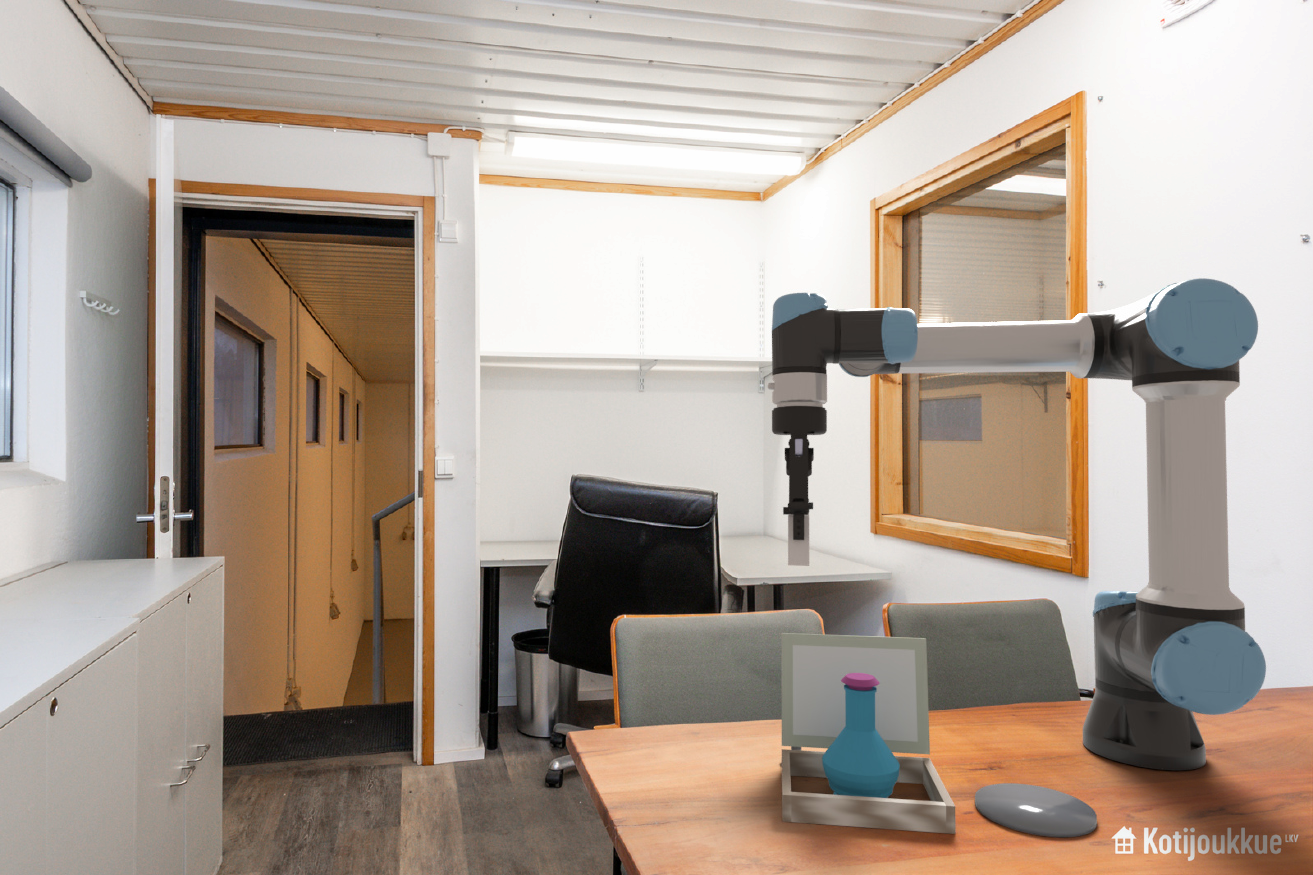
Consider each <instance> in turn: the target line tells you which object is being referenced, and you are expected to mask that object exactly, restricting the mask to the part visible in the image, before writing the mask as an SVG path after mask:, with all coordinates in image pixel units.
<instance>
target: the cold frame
mask: <svg viewBox="0 0 1313 875" xmlns="http://www.w3.org/2000/svg"><path fill="white" fill-rule="evenodd" d="M825 752H826V751H817V750H816V751H815V750H804V749H803V750H802V749H801V750H791V749H785V748H784V749H782V748H781V807H782V808H781V810H782V811H781V812H782V813H781V815H782V822H786V823H787V822H788V823H798V824H800V823H801V824H802V823H803V824H816V825H828V826H839V827H840V826H841V827H856V828H869V829H881V830H882V829H884V830H894V831H895V830H896V831H897V830H898V831H908V832H909V831H910V832H925V833H938V834H939V833H940V834H952V835H956V834H957V833H956V828H957V827H956V826H957V825H956V819H957V818H956V804H955V803H954V801H953V799H952V798H951V796H950V794H949V792H948V790H947V788H946V787H945V784H944V783H943V781H942V778H941V777H940V775H939V774H938V771H937V769H936V767H935V765H934V764H933V762H932V759H931V758H930V757H923V756H922V757H920V756H902V755H900V756H899V755H894V756H895V758H896V759H897V761H898V762H899V764H900V768H899V776H898V779H897V782H896V783H902V784H919V785H923V787H924V789H925V791H926V793H927V795H928V797H929V799H930V800H916V799H904V798H903V799H901V798H889V797H887V798H876V797H861V796H846V795H833V794H827V793H826V794H825V793H814V792H813V793H812V792H799V791H792V782H791V780H792V779H791V778H792V777H791V776H794V777H808V778H809V777H810V778H811V777H812V778H826V779H827V777H826V775H825V771H824V768H823V762H822V757H823V755H824V753H825Z"/></svg>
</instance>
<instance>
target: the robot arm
mask: <svg viewBox="0 0 1313 875" xmlns="http://www.w3.org/2000/svg"><path fill="white" fill-rule="evenodd" d="M771 322H772V323H771V359H772V360H771V366H772V367H771V368H772V369H771V371H772V372H771V373H772V374H771V376H772V378H771V379H772V381H773V382H769V383H768V385H767V389H768V390H772V398H771V399H772V401H771V402H772V403H773V404H774V405H776V407H774V408H772V409H773V410H771V431H772V433H773V434H774V435H777V436H790V438H789V440H788V447H784V461H785V462H786V463H785V472H786V476H788V480H789V481H788V493H789V494H788V503H787V506H782V508H783V509H782V512H783V514H782V515H787V565H788V566H796V567H797V566H800V567H803V566H804V567H808V566H810V510H814V502H813V501H812V502H811V501H810V499H809V477H810V476H812V475H813V474H812V473H813V462H814V458H815V457H814V453H815V452H814V451H815V449H814V447H810V441H809V438H808V436H821V435H824V434H826V433H827V429H828V427H827V426H828V425H827V424H828V418H827V416H828V411H827V409H826V408H825V407H824V406H823V405H825V404H827V402H828V374H827V365H828V364H835V365H836V364H838V366H839V367H840V368H841V369H842V371H844V372H845V373H846V374H848V375H850V376H852V377H854V378H855V377H856V378H866V377H870V376H873V375H894V374H958V373H959V374H960V373H961V374H965V373H966V374H971V373H973V374H974V373H975V374H977V373H978V374H979V373H1054V372H1055V373H1058V372H1059V373H1060V372H1061V373H1063V372H1065V373H1066V372H1068V373H1070V374H1072V376H1074V378H1076V379H1100V380H1101V379H1104V380H1105V379H1106V380H1121V381H1131V388H1132V391H1133V392H1134V394H1136V395H1138V396H1139V398H1141V399H1142V400H1143V401H1144V403H1145V428H1146V429H1145V431H1146V432H1145V435H1146V437H1145V438H1146V439H1145V440H1146V482H1147V485H1146V486H1147V487H1146V488H1147V489H1146V490H1147V492H1146V493H1147V537H1148V538H1147V546H1148V547H1147V548H1148V550H1147V551H1148V552H1147V553H1148V583H1147V585H1145V587H1143V588H1142V589H1141V590H1140V591H1126V590H1125V591H1124V590H1102V591H1099V592H1098V593H1097V594H1096V595H1095V597H1094V600H1093V602H1094V606H1093V611H1092V617H1093V640H1094V646H1093V647H1094V676H1095V677H1094V678H1095V679H1094V680H1095V684H1094V695H1093V698H1092V700H1091V703H1090V706H1089V708H1088V712H1087V714H1086V716H1085V720H1084V723H1083V724H1082V744H1083V746H1084V747H1085V748H1087V749H1088V750H1089V751H1091V752H1092V753H1094V754H1096V755H1099V756H1100V757H1102V758H1103V757H1104V758H1106V759H1109V760H1111V761H1115V762H1119V763H1122V764H1126V765H1130V766H1135V767H1141V768H1145V769H1153V770H1155V769H1156V770H1161V771H1162V770H1163V771H1165V770H1166V771H1189V770H1190V771H1191V770H1196V769H1199V768H1202V767H1204V766H1205V765H1206V763H1207V762H1206V761H1207V757H1206V756H1207V754H1206V745H1205V741H1204V739H1203V736H1202V733H1201V730H1200V728H1199V726H1198V723H1197V720H1196V718H1195V715H1194V713H1197V714H1201V715H1206V716H1209V715H1210V716H1216V715H1217V716H1219V715H1225V714H1230V713H1232V712H1234V711H1235V712H1236V711H1238V710H1240V709H1241V708H1243V707H1244V706H1245V705H1247V704H1248V703H1249V702H1250V701H1252V700H1254V699H1255V697H1256V696H1257V695H1258V693H1259V692H1260V691H1261V689H1262V687H1263V685H1264V682H1265V678H1266V672H1267V665H1266V658H1265V655H1264V652H1263V650H1262V648H1261V647H1260V645H1259V643H1257V641H1255V639H1254V637H1252V636H1251V635H1250V634H1249V633H1248V632H1247V631H1246V615H1245V614H1246V610H1245V609H1246V608H1245V603H1244V602H1243V601H1242V600H1241V599H1240V598H1239V597H1238V596H1237V595H1235V594H1234V593H1233V592H1232V591H1231V589H1230V578H1229V576H1230V575H1229V571H1230V570H1229V568H1230V566H1229V528H1228V527H1229V526H1228V525H1229V524H1228V520H1229V519H1228V486H1227V485H1228V480H1227V472H1228V471H1227V438H1226V437H1227V430H1226V427H1227V425H1226V400H1227V398H1228V397H1229V396H1230V395H1231V394H1232V393H1233V392H1234V391H1236V390H1237V389H1238V388H1239V387H1240V385H1241V382H1240V380H1241V379H1240V374H1241V373H1240V371H1241V370H1240V360H1241V359H1243V357H1245V356H1247V354H1248V352H1249V351H1250V350H1251V349H1252V348H1253V346H1254V344H1255V343H1256V341H1257V336H1258V331H1259V321H1258V316H1257V313H1256V310H1255V308H1254V306H1253V304H1252V303H1251V301H1250V300H1249V299H1248V297H1247V296H1246V295H1245V294H1244V293H1243V292H1240V291H1239V290H1238V289H1237V288H1235V287H1234V286H1232V285H1231V284H1228V283H1227V282H1224V281H1221V280H1218V279H1213V278H1193V279H1187V280H1184V281H1181V282H1175V283H1171V284H1169V285H1166V286H1165V287H1163V288H1160V290H1157V292H1155V293H1153V294H1150V295H1147V297H1145V298H1142V299H1140V300H1138V301H1135V302H1132V303H1130V304H1128V305H1125V306H1122V307H1118V308H1114V309H1111V310H1107V311H1099V312H1084V313H1078V314H1077V315H1075V317H1073V318H1072V319H1070V320H1039V321H1038V320H1033V321H997V322H995V321H994V322H993V321H991V322H990V321H989V322H951V323H949V322H948V323H947V322H945V323H918V319H917V315H916V313H915V311H914V310H912V309H911V308H898V307H895V308H894V307H892V306H887V307H885V308H884V307H882V308H849V309H846V308H845V309H839V308H838V309H835V308H829V306H828V305H827V299H826V297H825V296H824V295H823V294H820V293H815V292H814V293H812V292H811V293H809V292H793V293H787V294H784V295H782V296H779V297H778V298H776V300H775V301H774V302H773V305H772V321H771Z"/></svg>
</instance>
